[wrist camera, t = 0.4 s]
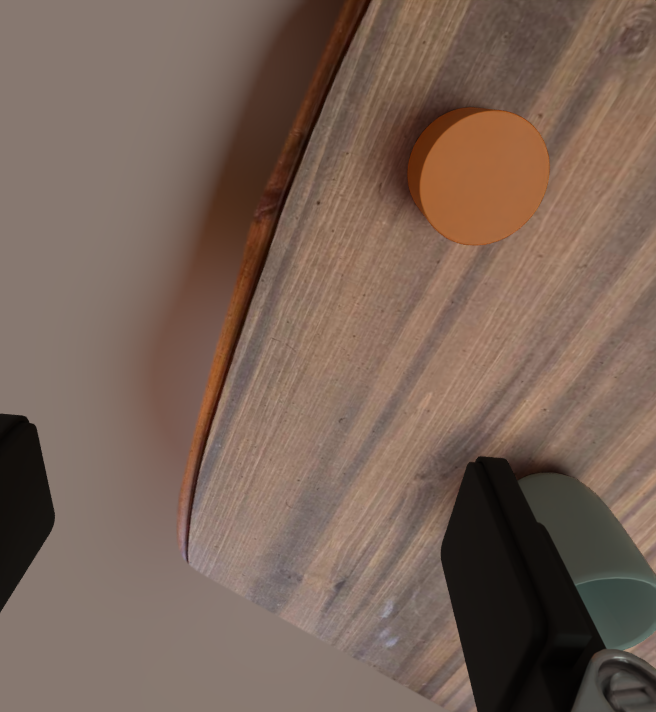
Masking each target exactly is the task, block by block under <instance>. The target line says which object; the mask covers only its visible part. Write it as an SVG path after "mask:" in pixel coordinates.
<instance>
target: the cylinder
mask: <svg viewBox="0 0 656 712" xmlns="http://www.w3.org/2000/svg"><path fill="white" fill-rule="evenodd" d="M549 169H550V164H549V155H548V151H547V148H546V145H545V143H544V140H543V138H542V137H541V135H540V133H539V132H538V131H537V129H536V128H535V127H534V126H533V125H532V124H531V123H530V122H528V121H527V120H526V119H524V118H522V117H521V116H519V115H516V114H514V113H511V112H507V111H502V110H493V109H485V108H475V107H467V108H460V109H456V110H453V111H450V112H448V113H446V114H444V115H442V116H440V117H439V118H437V119H436V120H434V121H433V122H432V123H431V124H430V125H429V126H428V127H427V128H426V129H425V130H424V131H423V132H422V134H421V135H420V137H419V138H418V139H417V141H416V143H415V145H414V147H413V150H412V152H411V155H410V159H409V163H408V172H407V178H408V186H409V190H410V193H411V196H412V198H413V200H414V202H415V204H416V205H417V207H418V208H419V209H420V211H421V212H422V213H423V215H424V216H425V217H426V219H427V220H428V221H429V222H430V224H431V225H432V226H433V228H435V229H436V230H437V231H438V232H439V233H440V234H441V235H443V236H444V237H446V238H447V239H449V240H451V241H454V242H456V243H460V244H464V245H485V244H490V243H494V242H497V241H499V240H502V239H504V238H506V237H508V236H510V235H511V234H513V233H514V232H516V231H517V230H518V229H520V228H521V227H522V226H523V225H524V224H525V223H526V222H527V221H528V220H529V219H530V218H531V217H532V216H533V214H534V213H535V211H536V210H537V208H538V207H539V205H540V203H541V201H542V199H543V197H544V194H545V192H546V188H547V185H548V180H549Z"/></svg>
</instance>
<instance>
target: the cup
mask: <svg viewBox="0 0 656 712" xmlns="http://www.w3.org/2000/svg"><path fill="white" fill-rule="evenodd" d="M517 481H518V483H519V486H520V488H521V490H522V492H523V494H524V496H525V498H526V500H527V502H528V504H529V506H530V508H531V510H532V512H533V514H534V516H535V519H536V521H537V522H540V523H541V524H543V525H544V526H545V528H546V529H547V531H548V532H549V534H550V536H551V538H552V540H553V542H554V544H555V546H556V548H557V550H558V552H559V554H560V556H561V558H562V560H563V562H564V564H565V566H566V568H567V570H568V572H569V574H570V576H571V578H572V580H573V582H574V584H575V586H576V588H577V590H578V592H579V594H580V596H581V598H582V600H583V602H584V604H585V606H586V608H587V610H588V612H589V614H590V616H591V618H592V620H593V622H594V624H595V626H596V628H597V630H598V632H599V634H600V636H601V638H602V640H603V642H604V644H605V646H606V648H607V649H618V650H622V651H623V650H625V649H628V648H631V647H633V646H635V645H637V644H639V643H640V642H642V641H644V640H645V639H646V638H648V637H649V636H650V635H652V634H653V633H654V631H655V630H656V574H655V573H654V571H653V570H652V568H651V567H650V565H649V564H648V562H647V561H646V559H645V558H644V556H643V555H642V553H641V552H640V550H639V549H638V548H637V546H636V545H635V543H634V542H633V540H632V539H631V537H630V536H629V535H628V533H627V532H626V530H625V529H624V528H623V526H622V525H621V523H620V522H619V521H618V519H617V518H616V517H615V515H614V514H613V513H612V512H611V510H610V509H609V508H608V507H607V505H606V504H605V503H604V502H603V501H602V500H601V498H600V497H599V496H598V495H597V494H596V493H595V492H594V491H593V490H591V489H590V488H589V487H588V486H586V485H585V484H583V483H582V482H580V481H579V480H578V479H575V478H573V477H570V476H568V475H565V474H560V473H550V472H544V473H536V474H531V475H528V476H525V477H523V478H521V479H519V480H517Z"/></svg>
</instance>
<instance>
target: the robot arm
mask: <svg viewBox="0 0 656 712" xmlns="http://www.w3.org/2000/svg"><path fill="white" fill-rule="evenodd" d="M54 521H55V512H54V508H53V503H52V498H51V494H50V489H49V485H48V480H47V475H46V470H45V465H44V461H43V456H42V451H41V447H40V442H39V437H38V433H37V428H36V426H35V425H34V424H32V423H29V420H28V419H27V417H25V416H22V415H10V414H0V612H1V610H2V609H3V607H4V606H5V604H6V602H7V601H8V599H9V598H10V596H11V594H12V593H13V591H14V590H15V588H16V586H17V585H18V583H19V582H20V580H21V579H22V577H23V575H24V574H25V572H26V570H27V569H28V567H29V566H30V564H31V563H32V561H33V559H34V558H35V556H36V554H37V553H38V551H39V550H40V548H41V547H42V545H43V543H44V542H45V540H46V539H47V537H48V536H49V534H50V532H51V530H52V528H53V525H54ZM441 561H442V566H443V570H444V574H445V578H446V583H447V587H448V591H449V595H450V599H451V603H452V608H453V612H454V616H455V620H456V624H457V628H458V632H459V637H460V641H461V645H462V649H463V653H464V657H465V662H466V666H467V670H468V674H469V678H470V682H471V686H472V691H473V695H474V699H475V703H476V707H477V711H478V712H656V669H655V668H654V667H653V666H651V665H650V664H649V663H648V662H646V661H645V660H643V659H641V658H639V657H637V656H635V655H633V654H632V653H629V652H626V651H622V650H618V649H607V648H606V646H605V644H604V642H603V640H602V638H601V636H600V634H599V632H598V630H597V628H596V626H595V624H594V622H593V620H592V618H591V616H590V614H589V612H588V610H587V608H586V606H585V604H584V602H583V600H582V598H581V596H580V594H579V592H578V590H577V588H576V586H575V584H574V582H573V580H572V578H571V576H570V574H569V572H568V570H567V568H566V566H565V564H564V562H563V560H562V558H561V556H560V554H559V552H558V550H557V548H556V546H555V544H554V542H553V540H552V538H551V536H550V534H549V532H548V531H547V529H546V528H545V526H544V525H543V524H541V523H540V522H537V521H536V519H535V516H534V514H533V512H532V510H531V508H530V506H529V504H528V502H527V500H526V498H525V496H524V494H523V492H522V490H521V488H520V486H519V483H518V481H517V479H516V477H515V475H514V473H513V471H512V469H511V467H510V465H509V463H508V461H507V460H506V459H504V458H494V457H483V456H480V457H478V458H477V459H476V461H475V462H469V463H468V465H467V467H466V470H465V473H464V477H463V480H462V483H461V486H460V489H459V492H458V495H457V498H456V502H455V505H454V508H453V511H452V514H451V517H450V520H449V523H448V526H447V530H446V533H445V536H444V539H443V542H442V546H441Z"/></svg>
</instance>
